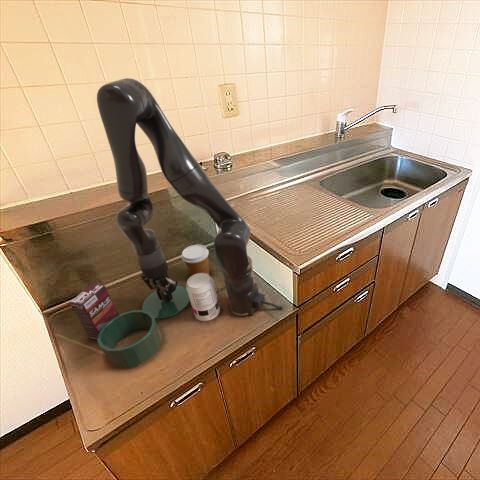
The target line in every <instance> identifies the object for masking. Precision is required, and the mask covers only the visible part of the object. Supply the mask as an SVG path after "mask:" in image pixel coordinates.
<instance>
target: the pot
mask: <svg viewBox="0 0 480 480" xmlns="http://www.w3.org/2000/svg"><path fill="white" fill-rule="evenodd" d="M138 330H148V332H147V333H146V334H145V335H144V336H143V337H142V338H141V339H140V340H137V341H136V342H134V343H133V344H131V345H130V344H129V345H128V346H127V345H126V346H123V347H121V348H120V347H119V348H117V347H115V345H116V343H118V342H119V341H120V340H121V339H122V338H123V337H125V336H126V335H128V334H131V332H135V331H138ZM162 342H163V336H162V332H161V330H160V327H159V325H158V323H157V319H155V318H154V316H153V315H152V314H151V313H150V312H147V311H144V310H142V309H134V310H133V309H132V310H129V311H125V312H122V313H120V314H119V315H118V316H116V317H114V318H113V319H111V320H110V321H109V322H108V323H107V324H105V325H104V326H103V328H102V329H101V331H100V332H99V334H98V339H97V344H98V345H99V347H100V349H101V350H102V352H103V354H104V355H105V357H106V358H107V360H108V362H109V364H110V365H111V366H112V367H114V368H116V369H121V370H127V369H133V368H136V367H139V365H141V364H143V363H145V362H147V361H148V360H149V359H151V358H152V357H154V355H155V354H156V353H157V352H158V351H159V349H160V347H161V344H162ZM114 347H115V348H114Z"/></svg>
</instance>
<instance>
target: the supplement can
mask: <svg viewBox="0 0 480 480" xmlns="http://www.w3.org/2000/svg"><path fill="white" fill-rule="evenodd" d="M185 288H186V289H187V292H188V295H189V298H190V302H189V303H190V305H191V309H192V311H193V315H194V317H195V319H196V320H198V321H199V322H208V321H211V320H213V319H215V318H216V317H217V316H218V315H219V314H220V311H221V307H220V303H219V298H218V295H217V294H218V293H217V289H216V286H215V281H214V279H213V277H212V276H211V275H210V273H209V274H207V273H197V274H194V275H192V276H191V275H190V276H189V277H188V279H187V281H186V285H185Z"/></svg>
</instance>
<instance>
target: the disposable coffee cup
mask: <svg viewBox="0 0 480 480" xmlns="http://www.w3.org/2000/svg"><path fill="white" fill-rule="evenodd" d="M209 251H210V250H209V249H208V248H207V247H206V246H205V245H203V244H191V245H189V246H186V247H185V248H184V249H183V250H182V252H181V260H182V261H183V262H184V263H185V265H186V268H187V269H188V272H189V274H190V277H191V276H192V275H194V274H197V273H207V274H209V275H210V265H209Z"/></svg>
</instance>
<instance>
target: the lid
mask: <svg viewBox="0 0 480 480" xmlns="http://www.w3.org/2000/svg"><path fill="white" fill-rule="evenodd" d="M166 290H167V288H166ZM159 292H160V295H161V298H162V300H160V299H159V297H158V295H157V292H155V291H154V290H153V291H152V292H151V293H150V294H149V295H148V296H146V297H145V299H144V301H143V302H142V306H141V310H144V311H147V312H150V313H151V314H152V315H153V316H154V318H155V320H163V319H164V320H165V319H168V318H171V317H173V316H176V315H178V314H180V313H181V312H182V311H184V310H185V309H186V308H187V307H188V305H189V304H190V303H191V302H190V298H189V295H188V292H187V289H186V286H183V285H177V286H176V290H175V291H174V292H173V293H172V296H173V299H172V300H171V301H170V302H166V299H165V296H164V293H163V291H162V290H159Z"/></svg>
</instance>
